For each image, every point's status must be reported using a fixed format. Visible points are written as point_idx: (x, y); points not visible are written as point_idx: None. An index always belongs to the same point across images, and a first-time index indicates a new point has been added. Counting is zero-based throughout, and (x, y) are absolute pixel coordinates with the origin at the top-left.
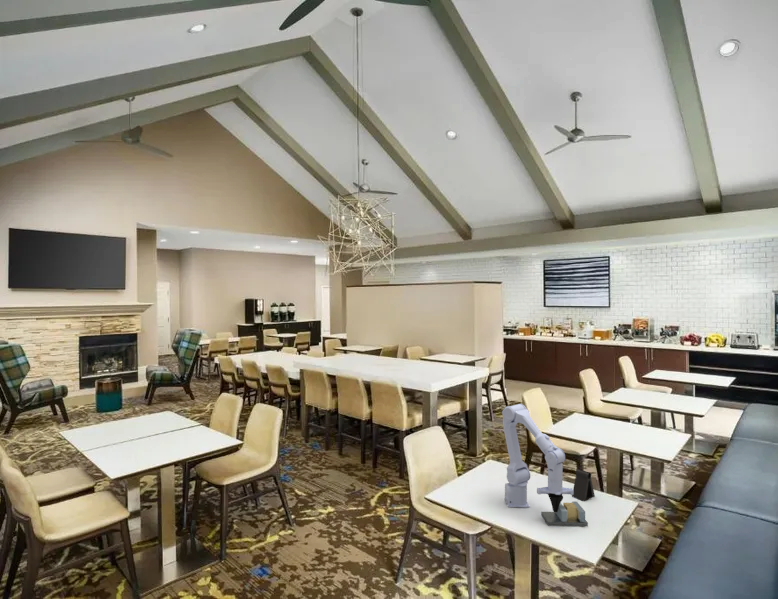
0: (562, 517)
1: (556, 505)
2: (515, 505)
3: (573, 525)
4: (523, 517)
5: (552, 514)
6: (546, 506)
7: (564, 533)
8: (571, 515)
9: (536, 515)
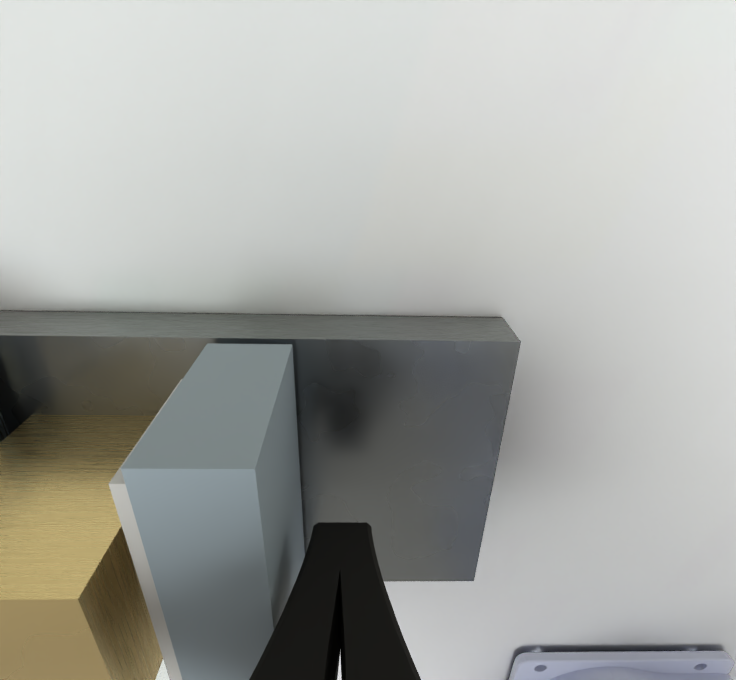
0: (268, 380)
1: (327, 653)
2: (656, 670)
3: (122, 315)
4: (700, 496)
5: None
6: None
7: (332, 71)
8: (80, 460)
9: (522, 535)
